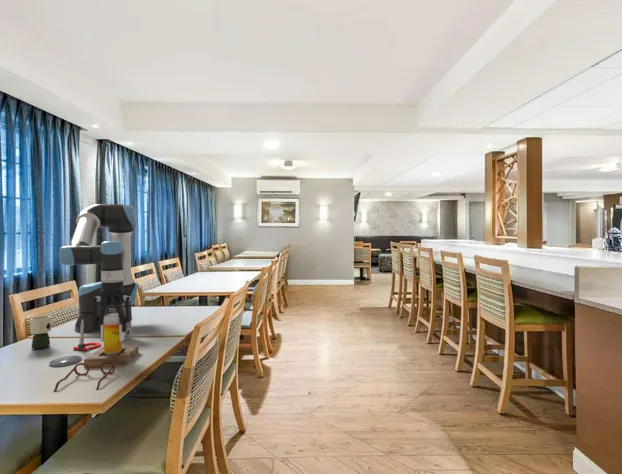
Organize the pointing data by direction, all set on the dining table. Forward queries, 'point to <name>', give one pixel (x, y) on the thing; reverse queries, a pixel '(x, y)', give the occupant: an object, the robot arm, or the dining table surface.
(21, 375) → the dining table surface
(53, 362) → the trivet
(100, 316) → the robot arm
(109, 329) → the beer can
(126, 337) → the coffee box
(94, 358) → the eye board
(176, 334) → the dining table surface
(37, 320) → the character mug
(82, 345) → the tow hook
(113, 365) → the glasses
